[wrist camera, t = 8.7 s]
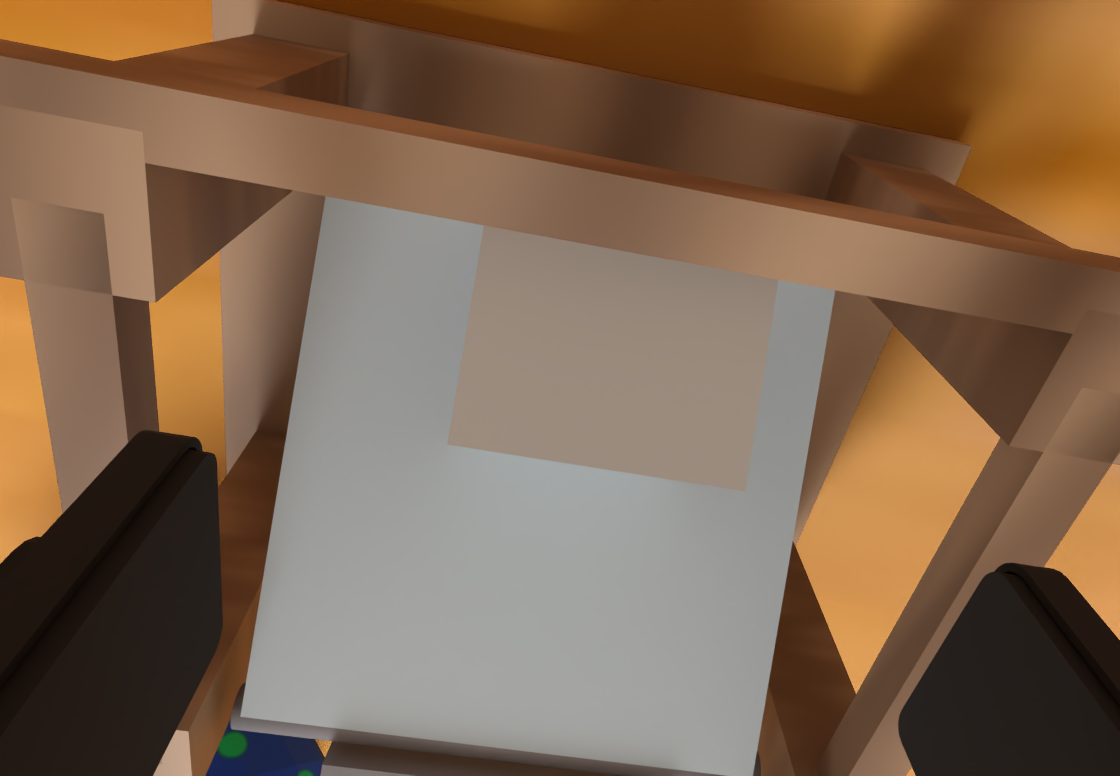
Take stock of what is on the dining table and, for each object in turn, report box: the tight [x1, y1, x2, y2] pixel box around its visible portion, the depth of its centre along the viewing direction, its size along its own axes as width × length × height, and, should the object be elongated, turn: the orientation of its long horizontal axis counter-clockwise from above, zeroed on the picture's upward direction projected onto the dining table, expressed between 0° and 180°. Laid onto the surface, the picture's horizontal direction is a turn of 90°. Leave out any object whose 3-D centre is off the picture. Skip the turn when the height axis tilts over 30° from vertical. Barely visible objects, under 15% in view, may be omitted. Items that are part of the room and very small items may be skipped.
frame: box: [0, 0, 1120, 776], centre depth 19 cm, size 20×16×12 cm
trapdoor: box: [230, 196, 835, 776], centre depth 18 cm, size 12×16×2 cm
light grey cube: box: [447, 226, 778, 491], centre depth 15 cm, size 5×5×5 cm
